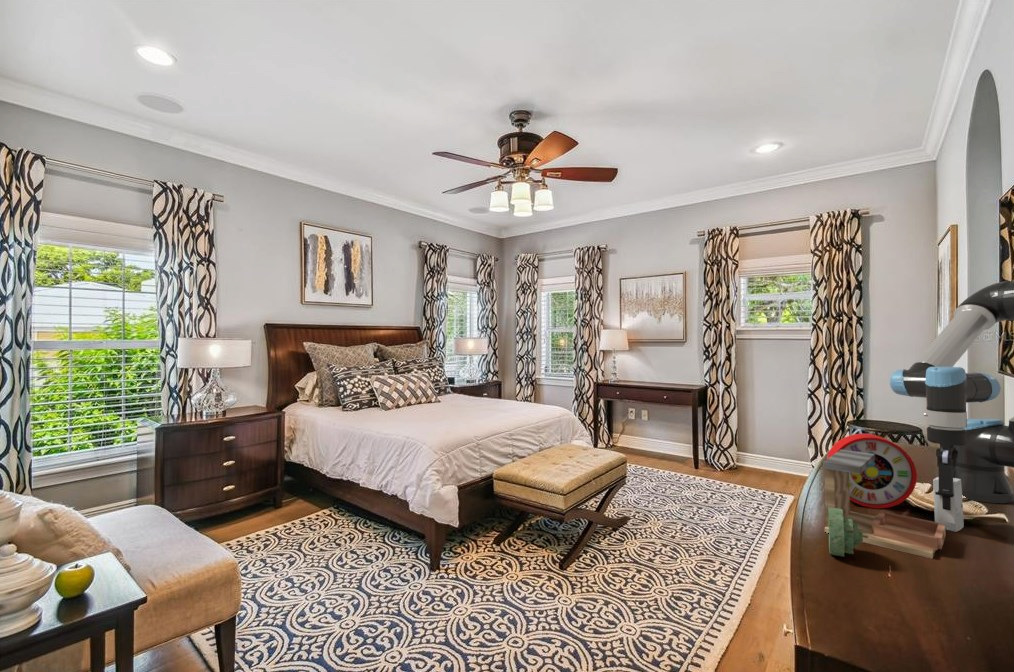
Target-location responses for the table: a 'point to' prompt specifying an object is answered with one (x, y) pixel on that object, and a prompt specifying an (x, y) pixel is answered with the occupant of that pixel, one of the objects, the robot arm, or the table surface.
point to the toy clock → (879, 471)
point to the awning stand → (885, 526)
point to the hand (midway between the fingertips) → (948, 517)
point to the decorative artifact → (842, 533)
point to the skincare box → (957, 505)
